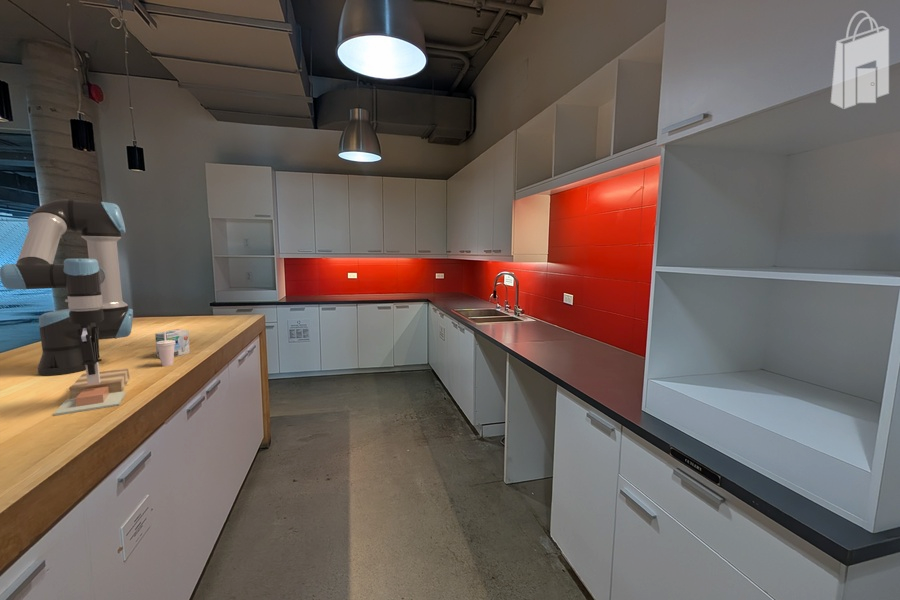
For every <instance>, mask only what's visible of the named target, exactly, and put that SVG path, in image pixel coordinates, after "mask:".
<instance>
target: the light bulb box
mask: <svg viewBox="0 0 900 600" xmlns="http://www.w3.org/2000/svg"><path fill="white" fill-rule="evenodd" d="M164 332H165V333H166V340H175V345H174V358H175V357H180V356H185V355H186V354H190V338H189V336H190V333H189V330H188V329H181V328H176V329H172V330H167V331H162V332H157V333H154V336H155V343H156V342H159V341H164ZM155 346H156V345H155ZM155 349H156V358H159V359H160V356H159V352H158V348H157V346H156V347H155Z"/></svg>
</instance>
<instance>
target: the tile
mask: <svg viewBox="0 0 900 600" xmlns="http://www.w3.org/2000/svg"><path fill="white" fill-rule="evenodd" d="M108 395H109V389H108V387H101V388H93V389H86V390H82V391H81V392H80V394H79V395H78V396H77V397H76V398H75V399H76V407H77V406H84V405H90V404H97V403H103V402H104V401H105V399H106V398H107V396H108Z"/></svg>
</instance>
